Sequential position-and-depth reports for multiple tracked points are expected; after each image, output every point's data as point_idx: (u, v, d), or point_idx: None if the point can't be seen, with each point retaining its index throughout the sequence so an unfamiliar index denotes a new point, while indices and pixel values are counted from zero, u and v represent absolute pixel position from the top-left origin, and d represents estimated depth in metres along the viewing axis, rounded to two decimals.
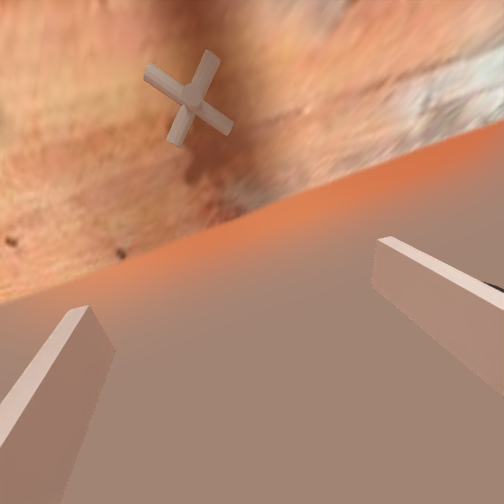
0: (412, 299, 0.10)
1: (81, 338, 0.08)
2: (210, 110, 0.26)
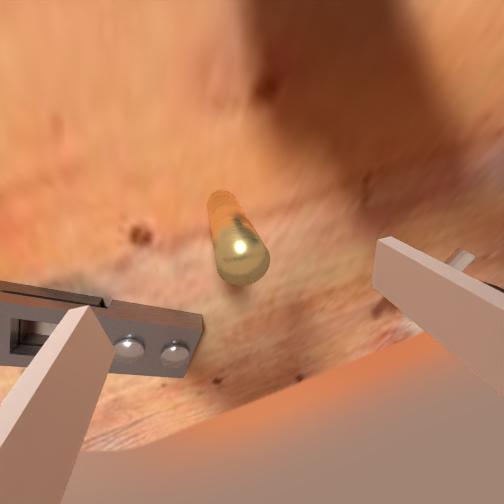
0: (412, 298, 0.10)
1: (81, 339, 0.08)
2: None
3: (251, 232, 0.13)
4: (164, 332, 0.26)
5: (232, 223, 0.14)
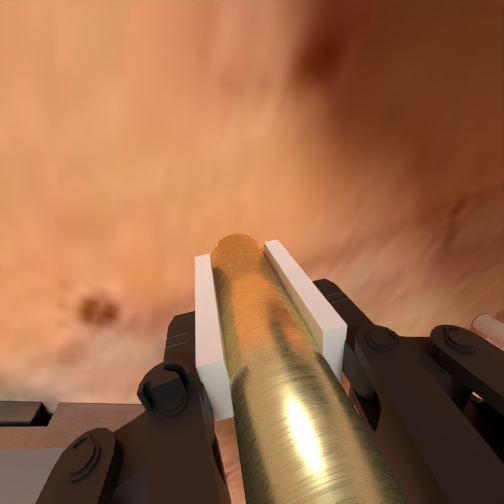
0: None
1: (213, 275, 0.11)
2: None
3: (370, 466, 0.04)
4: None
5: (294, 395, 0.05)
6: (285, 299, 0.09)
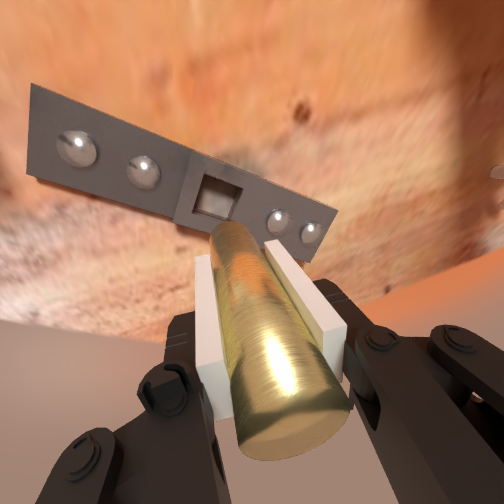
0: None
1: (213, 275, 0.11)
2: None
3: (307, 350, 0.06)
4: (309, 207, 0.29)
5: (263, 316, 0.07)
6: (266, 266, 0.11)
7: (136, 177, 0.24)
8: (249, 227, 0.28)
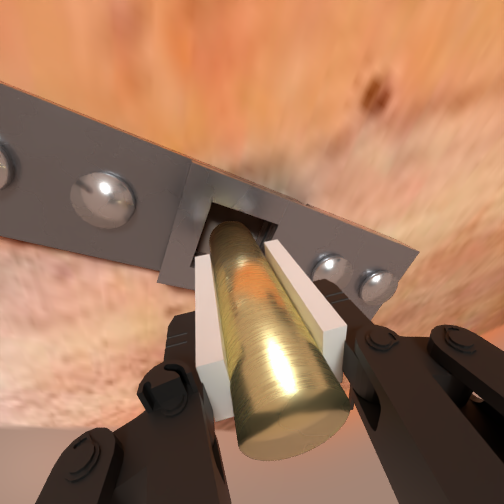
0: None
1: (213, 275, 0.11)
2: None
3: (307, 350, 0.06)
4: (378, 249, 0.18)
5: (263, 316, 0.07)
6: (266, 266, 0.11)
7: (90, 210, 0.13)
8: None
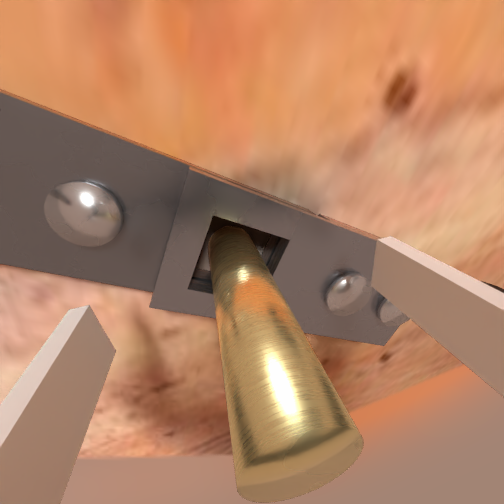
0: (412, 298, 0.10)
1: (81, 339, 0.08)
2: None
3: (315, 378, 0.06)
4: None
5: (265, 337, 0.07)
6: (268, 276, 0.10)
7: (69, 225, 0.11)
8: (294, 303, 0.16)
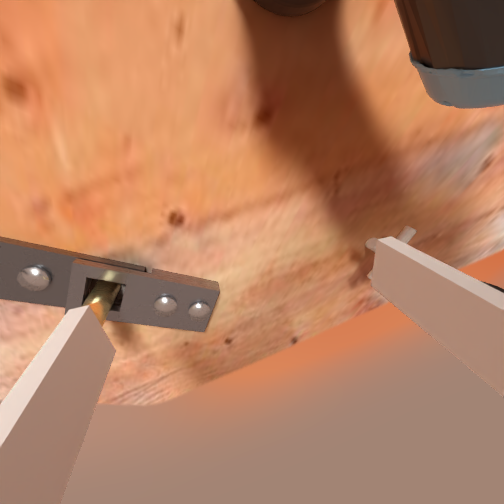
0: (412, 298, 0.10)
1: (81, 338, 0.08)
2: None
3: None
4: (192, 291, 0.34)
5: None
6: (99, 302, 0.28)
7: (27, 283, 0.29)
8: (138, 311, 0.33)
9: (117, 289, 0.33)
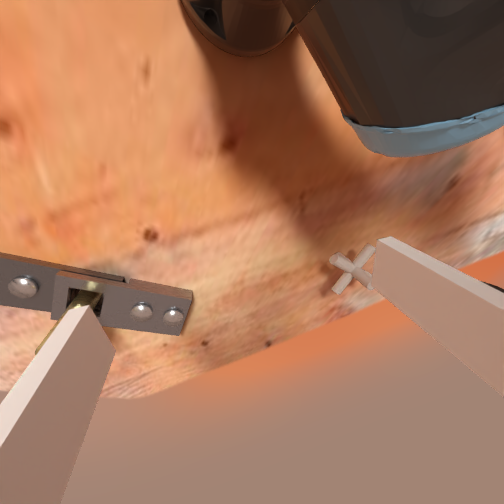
0: (412, 298, 0.10)
1: (81, 339, 0.08)
2: None
3: None
4: (166, 300, 0.38)
5: None
6: None
7: (17, 291, 0.33)
8: (117, 317, 0.37)
9: (98, 297, 0.36)
